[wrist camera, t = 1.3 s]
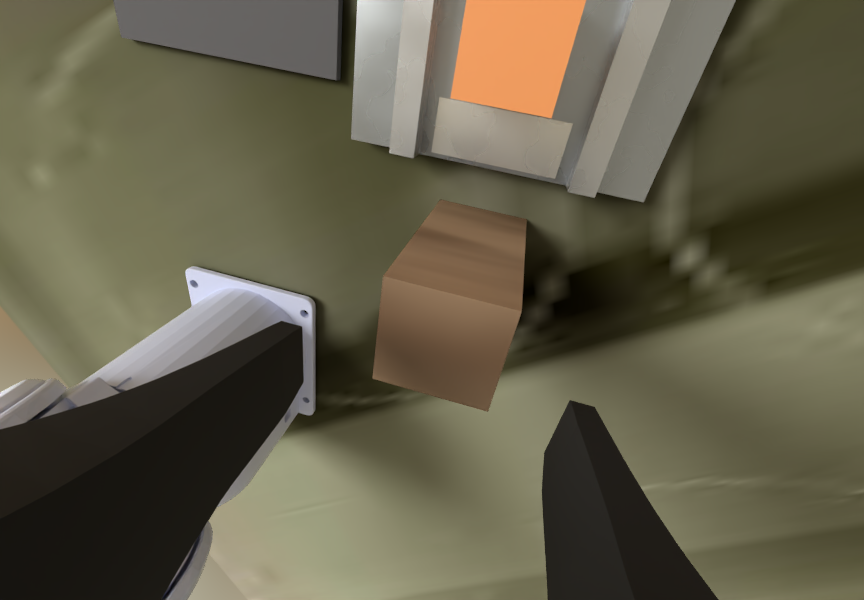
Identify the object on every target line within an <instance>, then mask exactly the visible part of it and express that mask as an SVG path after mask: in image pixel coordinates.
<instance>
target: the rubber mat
mask: <svg viewBox="0 0 864 600" xmlns="http://www.w3.org/2000/svg"><path fill="white" fill-rule="evenodd" d="M113 1H114V6H115V11H116V15H117V20H118V24H119V29H120V33H121V37H123V38H128V39H133V40H138V41H143V42H148V43H153V44H158V45H163V46H168V47H172V48H177V49H182V50H187V51H192V52H197V53H202V54H207V55H212V56H217V57H222V58H227V59H232V60H237V61H242V62H247V63H252V64H257V65H262V66H267V67H272V68H277V69H282V70H287V71H292V72H297V73H302V74H307V75H312V76H317V77H322V78H327V79H332V80H340V77H341V43H342V9H343V0H113Z"/></svg>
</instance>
